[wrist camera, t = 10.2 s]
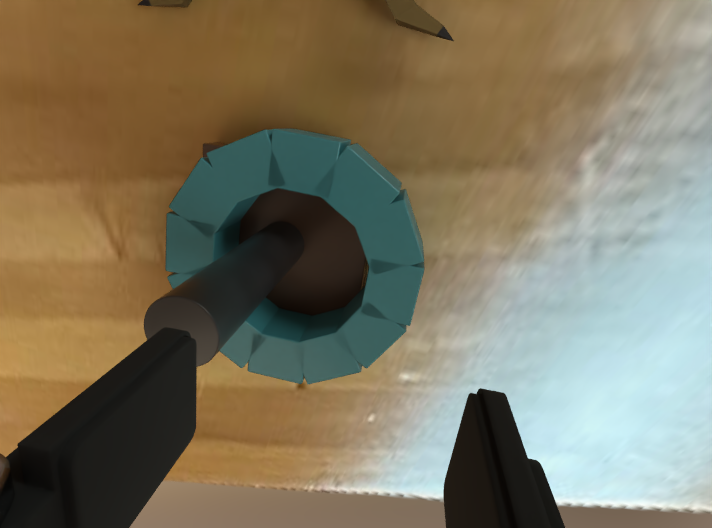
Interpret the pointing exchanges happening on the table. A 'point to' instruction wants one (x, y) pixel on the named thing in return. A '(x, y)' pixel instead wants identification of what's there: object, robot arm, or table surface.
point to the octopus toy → (398, 3)
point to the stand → (267, 270)
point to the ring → (348, 197)
